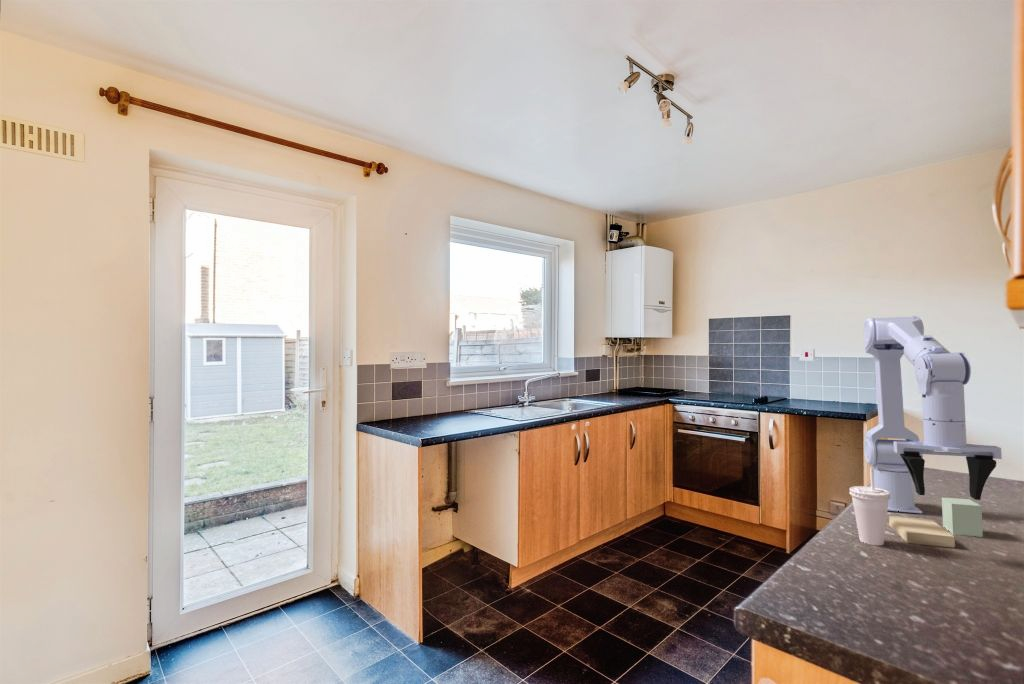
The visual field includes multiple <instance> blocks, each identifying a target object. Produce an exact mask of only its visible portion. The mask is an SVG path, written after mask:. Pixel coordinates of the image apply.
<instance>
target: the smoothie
mask: <svg viewBox="0 0 1024 684" xmlns="http://www.w3.org/2000/svg"><path fill="white" fill-rule="evenodd" d="M869 475H870V476H869V477H870V486H865V485H864V486H863V485H856V486H851V487H849V495H850V496H851V499H852V505H853V511H854V516H855V522H856V527H857V533H858V537H859V538H858V539H859V541H860V542H861V543H863V542H864V543H863V544H866V543H867V544H866V545H871V546H877V547H878V546H884V544H885V536H886V526H887V517H888V511H887V510H888V501H889V499H891V497H890V492H888V491H886V490H883V489H879V488H874V467H873V466H872V467H871V466H870V467H869Z"/></svg>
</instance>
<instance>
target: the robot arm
mask: <svg viewBox="0 0 1024 684" xmlns="http://www.w3.org/2000/svg"><path fill="white" fill-rule="evenodd" d="M863 324H864V325H863V333H862V334H863V346H864V347H863V348H864V351H865V353H866V354H868V355H872V356H873V361H874V368H875V385H876V399H877V400H876V401H877V417H878V418H877V419H878V420H877V421H878V424H877V425H876V426H874V427H872V428H870V429H869V430H868V431H866V432H865V435H864V443H863V453H864V457H865V461H866V463H867V464H868V465H870V467H871V466H872V467H873V468H874V488H879V489H883V490H886V491H888V492H890V497H891V499H889V501H888V510H887V512H898V511H899V513H913V514H923V510H921V509H920V508H918V507H917V506H916V503H915V493H916V494H918V495H919V496H925V494H926V493H925V492H926V488H925V481H924V479H925V478H924V476H925V475H924V473H925V462H926V460H925V459H924V455H931V456H932V455H933V456H935V455H937V456H951V457H952V456H953V457H965V460H966V464H967V470H968V478H969V484H968V486H969V497H970V498H972V499H974V501H975V500H976V501H981V498H982V494H983V491H984V490H983V489H984V487H985V484H986V482H987V480H988V478H989V476H990V475H991V474H992V472H993V471H994V470H995V469H996V467H997V460H1002V459H1003V458H1002V448H1001V447H999V446H997V445H986V444H985V445H984V444H975V443H974V444H972V443H968V442H967V428H966V427H967V426H966V424H967V423H966V422H967V421H966V406H965V405H966V403H965V385H967V384H968V383H969V382H970V379H971V374H972V372H971V371H972V370H971V369H972V368H971V367H972V366H971V362H970V359H969V358H968V357H967V355H966V354H965V353H964V352H963V351H957V352H950V351H949V350H948V349H947V348H946V347H944V345H943V344H941V342H939V341H938V340H937V339H935V338H934V337H933V336H932V335H929V334H928V335H925V326H924V323H923V320H922V319H921V318H920V317H919V316H918V315H912V316H896V317H893V316H892V317H891V316H890V317H868V318H867V319H866V320H865V321H864V323H863ZM903 355H904V357H905V358H906V359H907V360H908V361H909V362H910V364H912V366H914V373H915V378H916V381H917V386H918V387H917V388H918V389H917V390H918V392H919V394H921V400H922V401H921V404H922V424H923V441H920V437H919V436H918V435H917V434H916V433H915V432H913V431H912V430H910V429H909V428H907V427H906V426H905V415H904V414H905V413H904V412H905V411H904V410H905V409H904V397H903V381H902V369H901V368H902V367H901V359H902V357H903Z"/></svg>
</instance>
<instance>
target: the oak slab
mask: <svg viewBox="0 0 1024 684" xmlns="http://www.w3.org/2000/svg"><path fill="white" fill-rule="evenodd" d="M888 518H889V519H888V522H889V523H888V525H889V526H890V528H892V530H893V531H895V533H897V534H898V535H899V537H901V538H902V539H903V540H904V541H905V542H906V543H907V544H915V545H925V546H935V547H944V548H955V547H956V544H955V543H956V542H955V535H954V534H952V533H951V532H949V531H948V530H947V529H945V528H944V527H943V526H941V525H939V524H938V523H937V522H935V521H934V520H933V519H929V518H919V517H917V518H916V517H907V516H895V515H888Z"/></svg>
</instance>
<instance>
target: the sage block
mask: <svg viewBox="0 0 1024 684" xmlns="http://www.w3.org/2000/svg"><path fill="white" fill-rule="evenodd" d="M941 509H942V510H941V512H942V513H941V514H942V528H944V527H945V528H946V529H945V528H944V529H945V530H946V531H948V530H949V531H950V532H949V531H948V532H949V533H950V534H951V535H954V534H957V535H956V536H965V535H966V536H967V537H975V536H976V537H977V538H983V537H984V534H983V533H984V532H983V531H984V530H983V514H982V505H981V504H979V503H977V502H975V501H973V500H971V499H969V498H967V499H966V498H953V497H941Z"/></svg>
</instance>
